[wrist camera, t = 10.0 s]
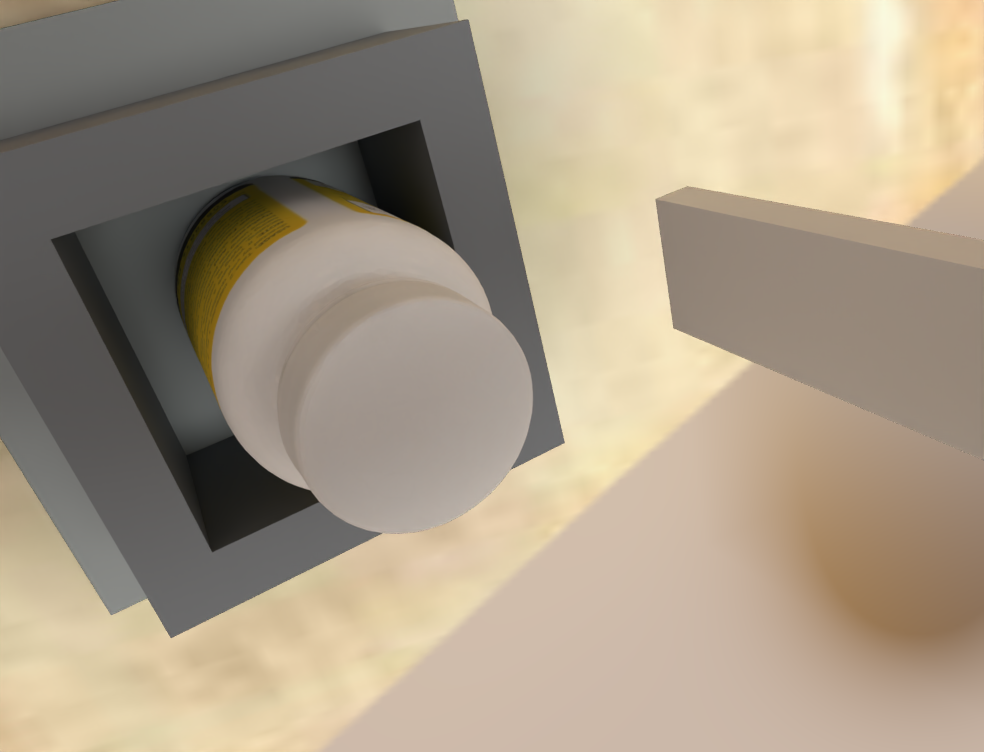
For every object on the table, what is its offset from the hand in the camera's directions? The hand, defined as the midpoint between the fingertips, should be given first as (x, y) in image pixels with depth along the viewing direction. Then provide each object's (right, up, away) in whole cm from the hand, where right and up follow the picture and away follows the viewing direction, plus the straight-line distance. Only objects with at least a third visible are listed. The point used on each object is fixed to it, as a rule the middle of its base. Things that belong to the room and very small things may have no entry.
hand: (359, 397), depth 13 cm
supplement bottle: (-3, +3, +7) cm, 8 cm away
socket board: (-4, +3, +8) cm, 10 cm away
